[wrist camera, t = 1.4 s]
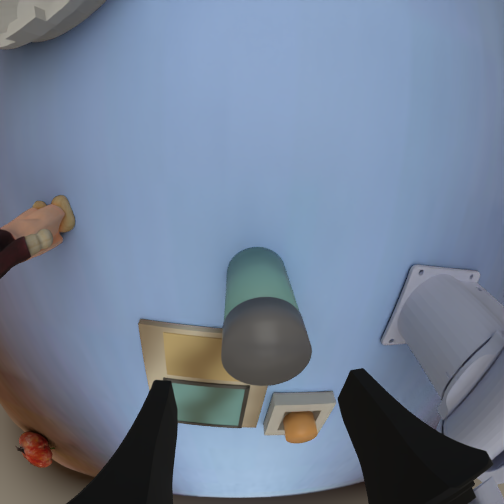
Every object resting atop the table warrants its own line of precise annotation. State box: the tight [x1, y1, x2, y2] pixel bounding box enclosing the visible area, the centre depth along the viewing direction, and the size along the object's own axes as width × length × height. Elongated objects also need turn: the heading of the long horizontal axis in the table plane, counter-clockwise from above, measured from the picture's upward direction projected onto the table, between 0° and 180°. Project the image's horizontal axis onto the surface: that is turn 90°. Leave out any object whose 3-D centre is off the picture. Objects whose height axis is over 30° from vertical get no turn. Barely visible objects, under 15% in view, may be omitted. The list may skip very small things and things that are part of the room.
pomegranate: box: [16, 431, 55, 468], centre depth 30 cm, size 7×7×10 cm
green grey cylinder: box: [221, 247, 312, 386], centre depth 16 cm, size 4×4×8 cm
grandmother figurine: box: [0, 195, 75, 279], centre depth 11 cm, size 8×4×13 cm, turn 103°
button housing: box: [263, 391, 336, 435], centre depth 26 cm, size 6×6×2 cm
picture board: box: [138, 319, 268, 428], centre depth 24 cm, size 11×14×1 cm
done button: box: [283, 411, 318, 443], centre depth 24 cm, size 3×3×2 cm
